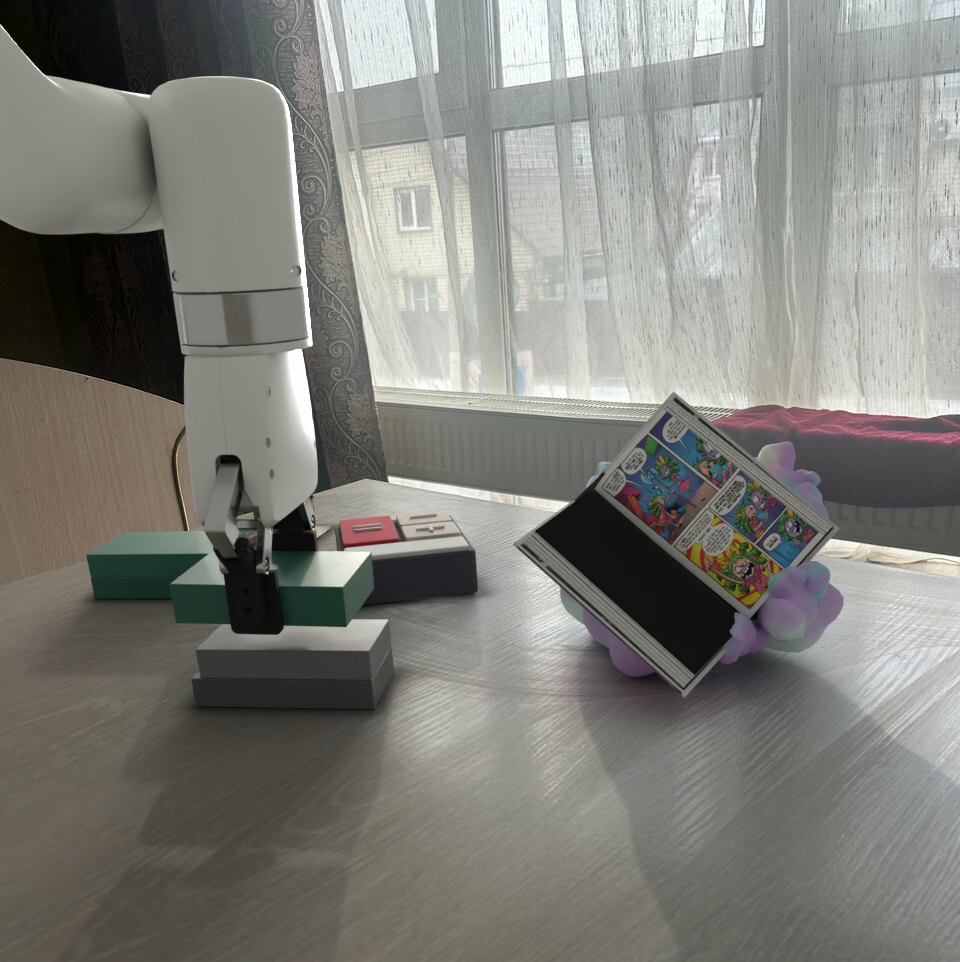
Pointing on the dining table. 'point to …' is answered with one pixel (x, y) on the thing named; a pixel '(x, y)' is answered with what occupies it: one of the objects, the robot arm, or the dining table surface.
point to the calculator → (412, 555)
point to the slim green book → (283, 588)
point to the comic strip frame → (691, 551)
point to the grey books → (296, 667)
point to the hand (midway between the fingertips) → (279, 607)
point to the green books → (145, 563)
